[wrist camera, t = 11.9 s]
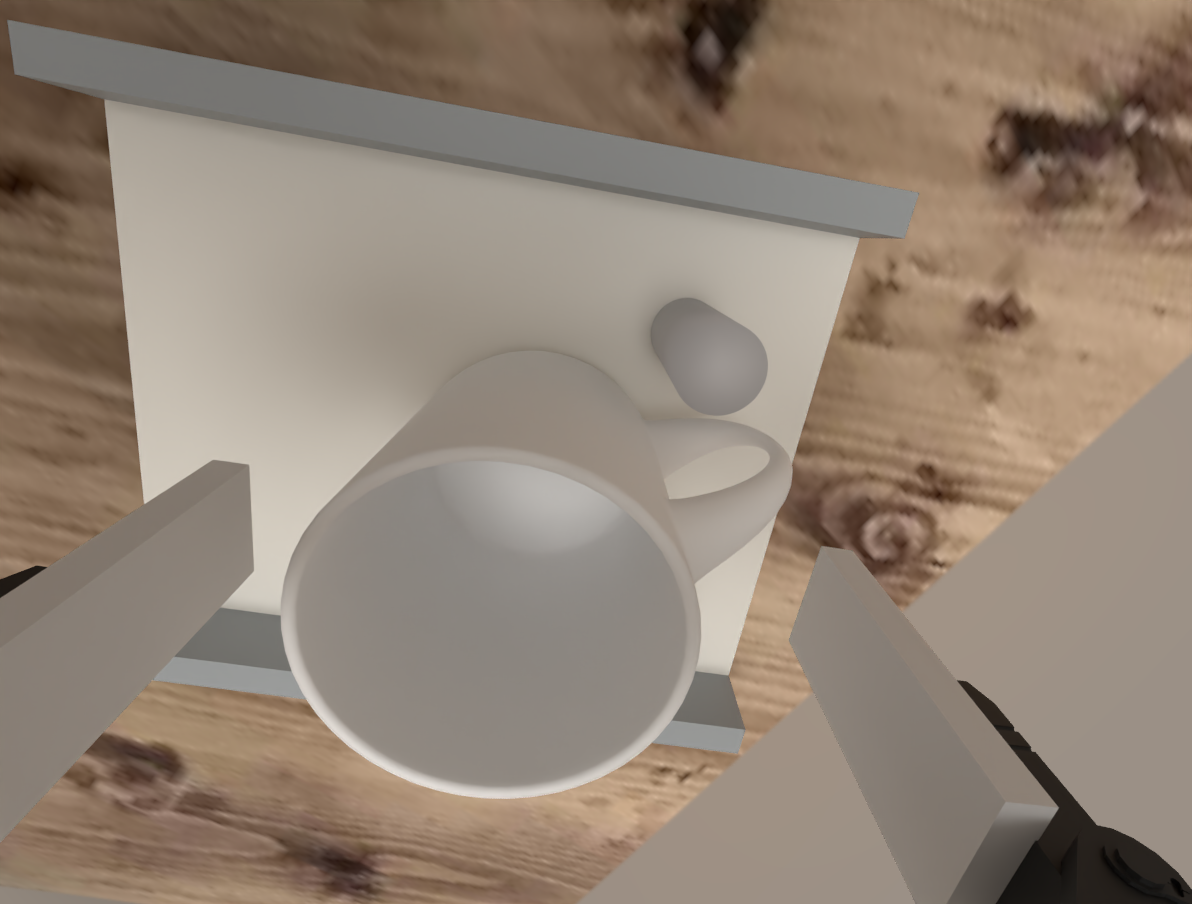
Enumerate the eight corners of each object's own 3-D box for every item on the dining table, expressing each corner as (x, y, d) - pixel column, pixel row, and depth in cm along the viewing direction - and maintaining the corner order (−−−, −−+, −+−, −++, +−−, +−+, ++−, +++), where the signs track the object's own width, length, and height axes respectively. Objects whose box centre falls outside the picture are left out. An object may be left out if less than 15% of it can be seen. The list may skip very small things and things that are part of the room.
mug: (762, 505, 23) (896, 716, 13) (470, 584, 24) (382, 835, 14) (712, 283, 20) (832, 332, 10) (383, 384, 21) (196, 519, 11)
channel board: (129, 64, 19) (-129, -31, 12) (855, 201, 20) (986, 184, 14) (175, 606, 26) (26, 738, 19) (716, 678, 27) (757, 824, 20)
